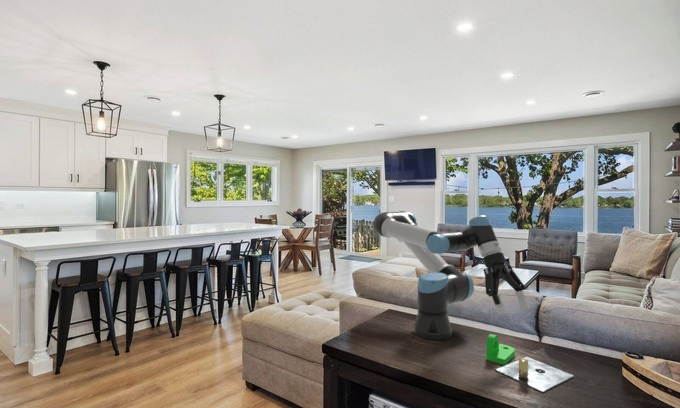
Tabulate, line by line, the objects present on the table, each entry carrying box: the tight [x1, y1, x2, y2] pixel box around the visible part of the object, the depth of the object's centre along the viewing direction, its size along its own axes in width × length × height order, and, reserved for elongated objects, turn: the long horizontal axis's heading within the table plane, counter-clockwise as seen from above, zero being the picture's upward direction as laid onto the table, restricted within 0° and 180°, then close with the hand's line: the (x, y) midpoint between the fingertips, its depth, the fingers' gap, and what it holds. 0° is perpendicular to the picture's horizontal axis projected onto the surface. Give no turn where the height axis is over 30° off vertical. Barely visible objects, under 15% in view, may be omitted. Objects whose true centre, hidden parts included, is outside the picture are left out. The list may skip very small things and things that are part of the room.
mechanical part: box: [485, 333, 516, 366], centre depth 125 cm, size 12×6×8 cm, turn 136°
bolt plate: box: [495, 356, 575, 393], centre depth 113 cm, size 15×17×6 cm
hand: (514, 311), depth 129 cm, fingers open, 13 cm apart
